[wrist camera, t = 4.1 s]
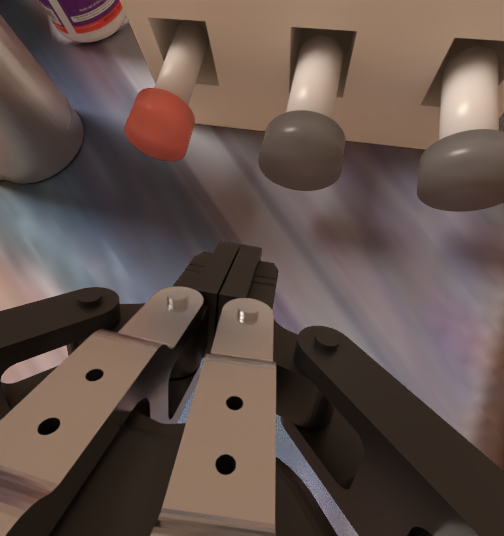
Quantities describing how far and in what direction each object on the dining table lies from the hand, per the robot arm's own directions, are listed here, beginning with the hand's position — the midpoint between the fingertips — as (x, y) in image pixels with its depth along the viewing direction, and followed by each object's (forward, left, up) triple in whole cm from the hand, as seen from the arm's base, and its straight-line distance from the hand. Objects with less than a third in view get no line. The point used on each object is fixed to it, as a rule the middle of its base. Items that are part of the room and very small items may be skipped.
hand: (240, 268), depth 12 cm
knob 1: (+7, +11, -8) cm, 16 cm away
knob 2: (+16, +6, -8) cm, 19 cm away
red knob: (0, +16, -8) cm, 18 cm away
